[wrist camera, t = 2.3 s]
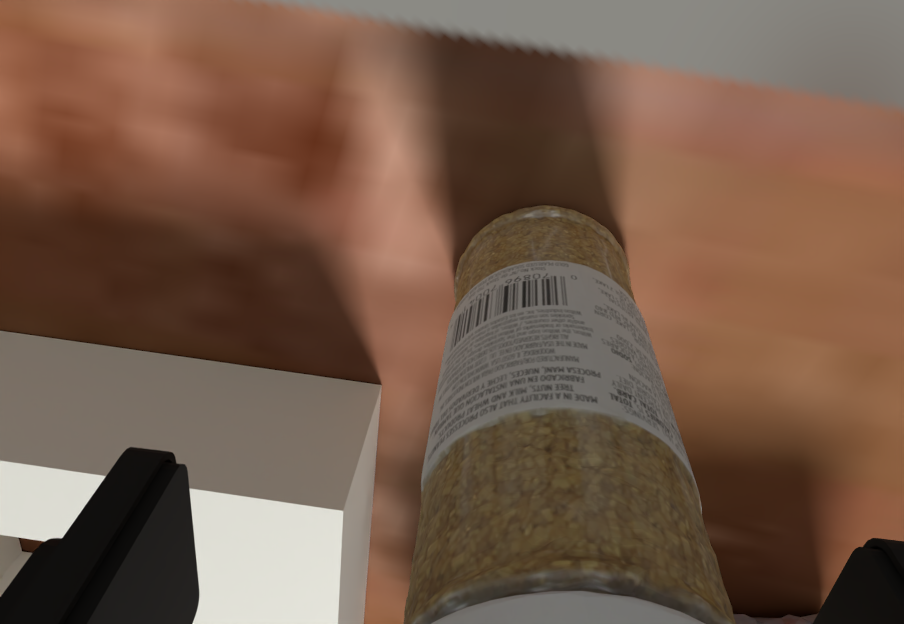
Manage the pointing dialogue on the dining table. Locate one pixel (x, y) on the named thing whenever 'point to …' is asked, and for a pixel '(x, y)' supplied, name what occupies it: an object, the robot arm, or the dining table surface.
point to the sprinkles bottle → (556, 447)
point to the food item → (774, 619)
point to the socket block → (200, 468)
